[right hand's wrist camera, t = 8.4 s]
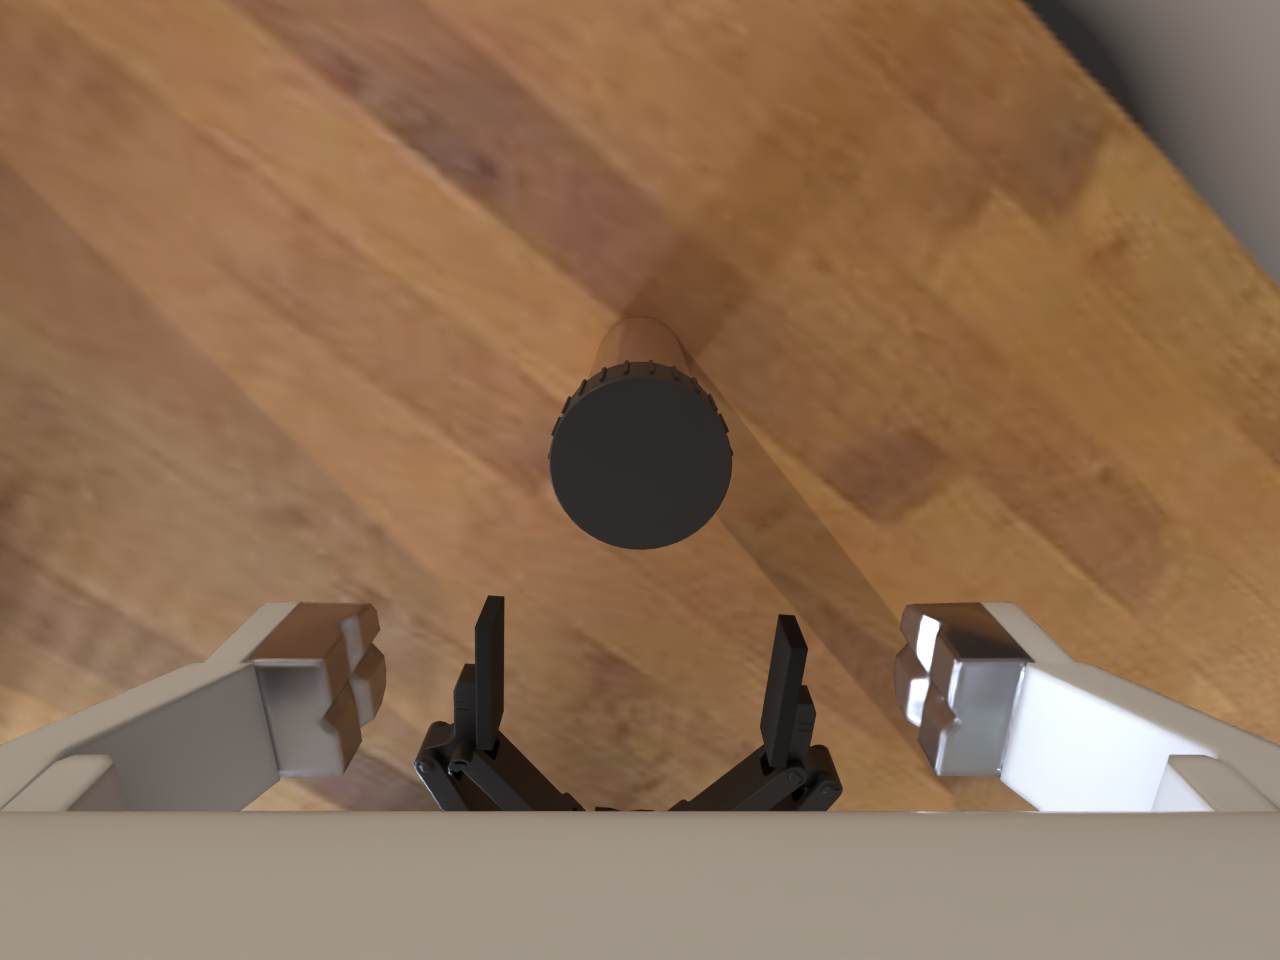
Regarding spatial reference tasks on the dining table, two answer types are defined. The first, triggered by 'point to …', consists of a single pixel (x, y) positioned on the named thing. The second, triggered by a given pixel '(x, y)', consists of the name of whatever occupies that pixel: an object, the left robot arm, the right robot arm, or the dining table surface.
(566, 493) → the lid
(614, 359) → the brown tall cylinder
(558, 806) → the left robot arm
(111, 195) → the dining table surface
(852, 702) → the dining table surface
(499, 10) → the dining table surface
